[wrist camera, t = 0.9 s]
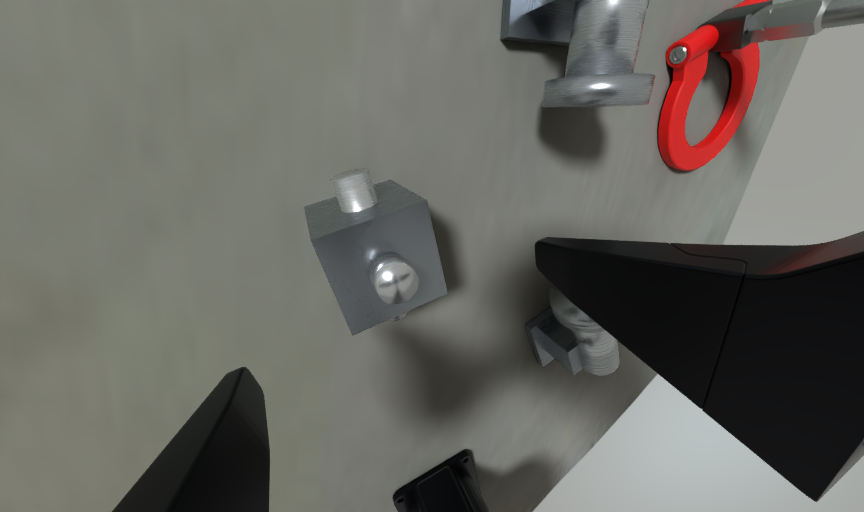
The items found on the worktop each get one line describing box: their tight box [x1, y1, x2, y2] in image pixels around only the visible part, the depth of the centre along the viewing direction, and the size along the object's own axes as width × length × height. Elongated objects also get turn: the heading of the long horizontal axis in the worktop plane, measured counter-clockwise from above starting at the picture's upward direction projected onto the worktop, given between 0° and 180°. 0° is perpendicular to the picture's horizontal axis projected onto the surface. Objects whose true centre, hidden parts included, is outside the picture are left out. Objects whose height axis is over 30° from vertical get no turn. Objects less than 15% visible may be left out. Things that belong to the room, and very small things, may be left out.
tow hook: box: [658, 0, 864, 170], centre depth 16 cm, size 8×13×9 cm
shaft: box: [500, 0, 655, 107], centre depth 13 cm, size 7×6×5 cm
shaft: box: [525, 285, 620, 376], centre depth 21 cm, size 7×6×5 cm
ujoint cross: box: [304, 168, 448, 336], centre depth 13 cm, size 6×4×6 cm, turn 13°
